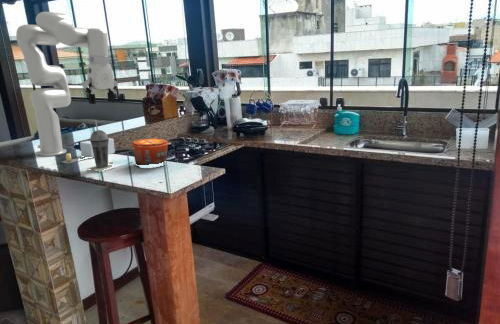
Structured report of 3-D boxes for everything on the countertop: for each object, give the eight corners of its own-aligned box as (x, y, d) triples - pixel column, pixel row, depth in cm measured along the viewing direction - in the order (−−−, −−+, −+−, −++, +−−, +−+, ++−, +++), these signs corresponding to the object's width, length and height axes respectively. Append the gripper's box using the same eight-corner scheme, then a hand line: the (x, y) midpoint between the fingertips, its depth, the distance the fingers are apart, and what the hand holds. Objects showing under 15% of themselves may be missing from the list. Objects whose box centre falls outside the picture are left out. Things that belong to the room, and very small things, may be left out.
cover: (81, 156, 175) (79, 142, 173) (104, 151, 187) (103, 137, 185) (91, 158, 172) (90, 143, 170) (114, 152, 184) (113, 138, 182)
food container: (177, 163, 163) (176, 140, 161) (149, 172, 150) (148, 146, 148) (152, 159, 172) (151, 136, 169) (124, 166, 159) (122, 142, 156)
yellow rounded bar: (61, 162, 164) (59, 154, 163) (82, 157, 174) (81, 149, 173) (68, 164, 162) (67, 155, 161) (90, 158, 172) (89, 150, 171)
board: (86, 170, 153) (86, 168, 152) (119, 160, 168) (119, 158, 168) (100, 172, 149) (100, 170, 149) (132, 162, 165) (132, 160, 164)
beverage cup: (114, 165, 157) (110, 118, 152) (104, 169, 150) (99, 121, 145) (100, 164, 159) (95, 118, 154) (89, 168, 152) (83, 120, 147)
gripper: (87, 60, 140) (91, 105, 145) (121, 61, 155) (124, 101, 160) (74, 60, 144) (78, 103, 148) (109, 60, 158) (111, 100, 163)
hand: (102, 102), depth 154 cm, fingers open, 9 cm apart
